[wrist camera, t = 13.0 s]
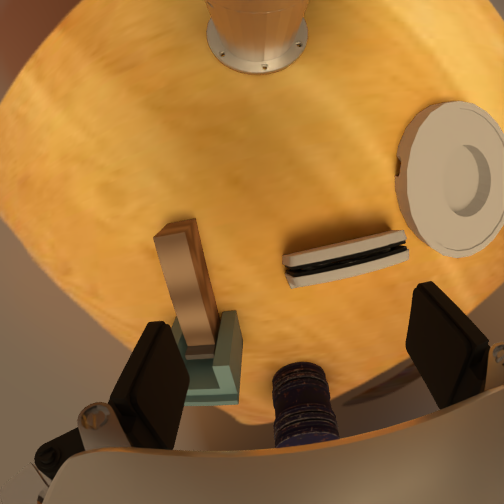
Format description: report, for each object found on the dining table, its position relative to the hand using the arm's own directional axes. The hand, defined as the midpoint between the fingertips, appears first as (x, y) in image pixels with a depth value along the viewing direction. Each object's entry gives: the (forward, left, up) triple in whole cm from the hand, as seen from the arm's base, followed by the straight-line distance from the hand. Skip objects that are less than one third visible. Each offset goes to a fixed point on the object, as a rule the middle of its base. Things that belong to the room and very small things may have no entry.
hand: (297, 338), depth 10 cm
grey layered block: (+9, +9, -29) cm, 31 cm away
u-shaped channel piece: (+19, -12, -28) cm, 36 cm away
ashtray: (0, +29, -29) cm, 41 cm away
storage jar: (+33, +1, -28) cm, 44 cm away
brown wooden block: (+9, -12, -28) cm, 32 cm away
